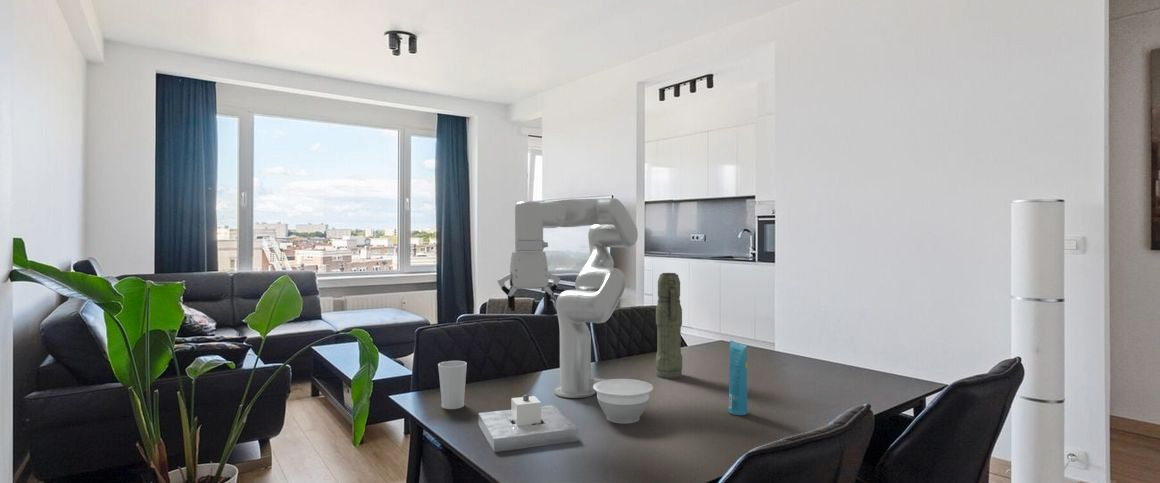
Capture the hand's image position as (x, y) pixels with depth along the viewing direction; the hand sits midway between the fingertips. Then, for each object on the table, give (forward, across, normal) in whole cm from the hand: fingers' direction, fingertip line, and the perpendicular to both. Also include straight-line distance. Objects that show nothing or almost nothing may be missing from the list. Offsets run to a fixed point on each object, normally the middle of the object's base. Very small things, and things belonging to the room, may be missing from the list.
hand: (529, 309), depth 161 cm
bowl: (+28, -22, +13) cm, 38 cm away
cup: (+28, +19, -14) cm, 37 cm away
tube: (+28, -53, +20) cm, 63 cm away
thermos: (+28, -55, -23) cm, 66 cm away
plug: (+27, +5, +15) cm, 31 cm away
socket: (+28, +5, +15) cm, 32 cm away
